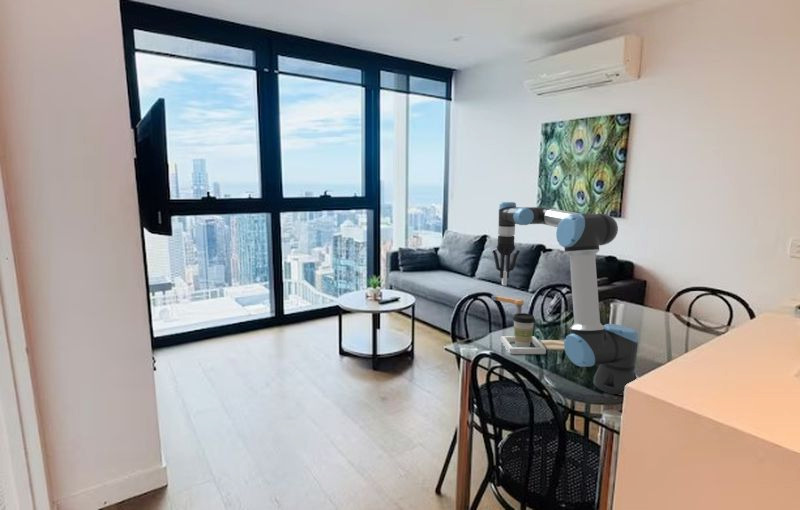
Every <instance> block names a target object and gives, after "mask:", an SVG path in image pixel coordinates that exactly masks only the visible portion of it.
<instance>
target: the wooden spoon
mask: <svg viewBox="0 0 800 510" xmlns="http://www.w3.org/2000/svg"><path fill="white" fill-rule="evenodd" d="M490 300H491V301H498V302H504V303H507V304H508V303H509V304H514V305H515V306H516V305H522V306H524V304H525V300H523V299H516V298H511V297H505V296H500V295H496V294H494V295H491V299H490Z"/></svg>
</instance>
